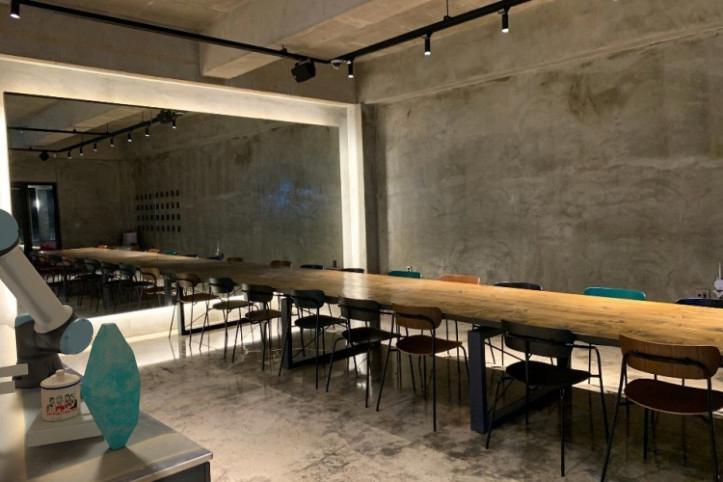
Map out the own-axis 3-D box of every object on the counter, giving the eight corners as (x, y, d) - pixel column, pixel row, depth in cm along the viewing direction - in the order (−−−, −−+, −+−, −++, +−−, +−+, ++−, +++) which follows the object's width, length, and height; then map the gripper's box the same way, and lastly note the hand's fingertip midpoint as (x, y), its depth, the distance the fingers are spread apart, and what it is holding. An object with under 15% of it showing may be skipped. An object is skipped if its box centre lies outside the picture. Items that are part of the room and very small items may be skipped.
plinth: (40, 421, 139) (39, 406, 138) (106, 411, 144) (106, 397, 144) (27, 447, 124) (26, 431, 123) (101, 435, 130) (100, 420, 129)
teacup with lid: (42, 425, 126) (40, 378, 126) (40, 413, 134) (38, 369, 133) (96, 414, 133) (95, 369, 132) (91, 402, 141) (90, 360, 140)
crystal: (101, 467, 114) (94, 334, 111) (78, 448, 123) (71, 324, 121) (154, 448, 123) (149, 323, 120) (129, 431, 132) (124, 315, 130)
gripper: (-63, 388, 133) (33, 375, 141) (-108, 428, 110) (9, 410, 118) (-66, 359, 132) (31, 348, 140) (-112, 394, 109) (6, 379, 117)
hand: (21, 377), depth 129 cm, fingers open, 13 cm apart
